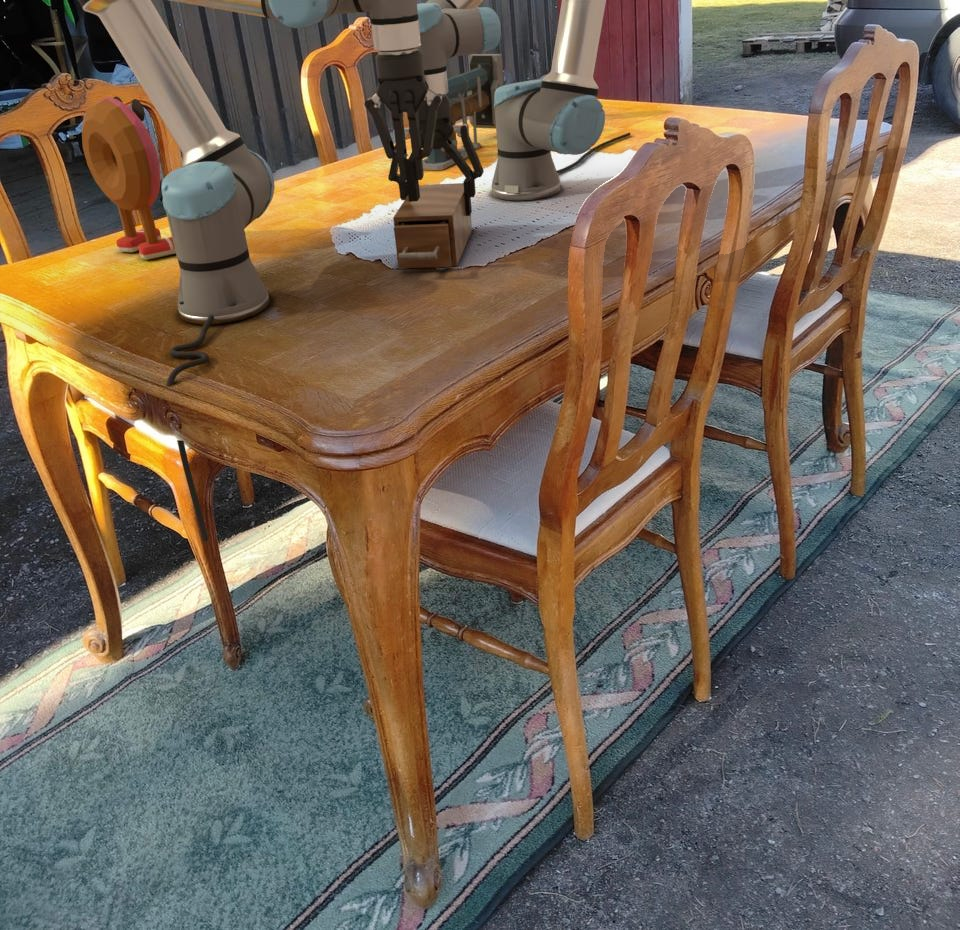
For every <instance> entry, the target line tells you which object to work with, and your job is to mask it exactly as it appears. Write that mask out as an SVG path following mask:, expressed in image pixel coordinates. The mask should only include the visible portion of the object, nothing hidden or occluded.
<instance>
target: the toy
mask: <svg viewBox="0 0 960 930" xmlns="http://www.w3.org/2000/svg"><path fill="white" fill-rule="evenodd" d="M145 115H146V113H145V109H144V106H143V104H142V102H140V100H139V99H137V98H133V99H132V101H131V107H130V106H128V105H126V104H125V103H124V102H123V101H122V99H121V98H120V97H119V96H117V95H115V96H114V97H110V96H106V97H104V98H102V99H100V100H98V101H95V103H92V104H91V105H89V106H88V107H86V110H85V113H84V116H83V119H82V124H81V141H82V142H81V143H82V150H83V153H84V157H85V161H86V165H87V167H88V169H89V172H90V174H91V176H92V178H93V179H94V182H95V183H96V184H97V186H98V187H99V188H100V190H101V191H102V192H103V194H104V195H105V196H106V197H107V198H108V199H109V200H110V201H111V202H112V203H113V204H114V205H116V206H117V210H118V213H119V217H120V221H121V225H122V230H123V233H124V236H122V237H120V238H118V239H116V243H115V244H116V247H117V250H118V252H121V253H135V252H139V256H140V257H141V259H143V260H152V259H158V258H162V257H167V256H172V255H176V251H175V247H174V243H173V239H172V236H170V237H165V238H162V234H161V231H160V229H159V228H158V227H156V224H155V219H154V215H153V211H152V208H151V207H152V205H154V203H155V202H156V200H157V198H158V195H159V193H160V190H161V189H160V188H161V166H160V165H161V164H160V160H159V156H158V152H157V149H156V146H155V143H154V141H153V138H152V136H151V133H150V132H149V130H148V128H147V127H146V125H145V124H144V121H145V119H146V117H145ZM132 211H133V212H134V211H138V214H139V219H140V222H141V226H142V228H139V229H136V225H135V220H134V215H133V212H132Z"/></svg>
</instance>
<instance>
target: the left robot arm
mask: <svg viewBox="0 0 960 930" xmlns="http://www.w3.org/2000/svg"><path fill="white" fill-rule="evenodd" d="M77 1H78V3H79V5H80V6H81V8H82V10H83V11H84V12H87V13H90V14H93V15H95V16H97V17H98V18H99V19H100V21H101V23H102V24H103V26H104V28H105V29H106V30H107V32H108V34H109V36H110V37H111V39H112V41H113V42H114V44H115V46H116V47H117V49H118V50H119V52H120V53H121V56H122V57H123V58H124V61H125V62H126V64H127V65H128V67H129V68H130V70H131V72H132V73H133V76H134V77H135V78H136V80H137V81H138V83H139V85H140V86H141V88H142V89H143V91H144V93H145V94H146V96H147V98H148V99H149V101H150V102H151V104H152V106H153V107H154V109H155V111H156V113H157V114H158V116H159V117H160V119H161V120H162V122H163V124H164V125H165V127H166V129H167V130H168V132H169V134H170V135H171V137H172V139H173V140H174V142H175V144H176V145H177V147H178V149H179V150H180V152H181V155H182V156H181V157H182V158H181V162H180V167H178V168H175V169H174V170H172V171H170V172H169V173H167V175H166V176H165V177H164V178H163V179H162V182H161V185H160V188H161V189H160V190H161V195H162V205H163V209H164V211H165V214H166V218H167V222H168V226H169V230H170V231H169V232H170V234H171V237H172V239H173V243H174V247H175V251H176V254H175V255H176V258H177V262H178V266H179V283H178V294H177V310H178V314H179V318H180V319H182V320H183V321H184V322H186V323H189V324H193V325H202V327H201V329H200V333H199V336H198V338H197V339H196V340H194V341H192V342H188V343H184V344H179V345H175V346H173V347H172V348H170V350H169V354H170V356H172V357H173V358H196V359H193V360H189V361H186V362H183V363H181V364H179V365H178V366H176V367H175V368H174V369H173V370H172V371H171V372H170V374H169V376H168V378H167V380H166V388H167V387H168V388H170V387H172V386H174V383H175V380H176V378H177V376H178V375H179V374H180V373H181V372H183V371H185V370H188V369H191V368H194V367H197V366H201V365H204V364H205V363H207V362H208V361H209V355H208V353H206V352H204V351H196V350H194V351H188V350H191V349H194V348H196V347H199V346H200V345H201V344H203V343H204V341H205V340H206V336H207V332H208V330H209V328H210V327H211V325H222V324H230V323H233V322H239V321H241V320H245V319H248V318H251V317H253V316H256V315H258V314H260V312H263V311H264V310H265V309H266V308H267V307H268V306H269V305H270V296H269V292H268V290H267V287H266V284H265V283H264V282H263V280H262V278H261V276H260V274H259V272H258V270H257V269H256V267H255V265H254V264H253V262H252V260H251V257H250V251H249V246H248V241H247V236H246V232H245V229H246V228H247V227H248V226H249V225H250V224H252V223H253V222H254V221H255V220H257V219H259V218H260V217H261V216H262V215H263V214H265V212H266V211H267V209H268V207H269V206H270V204H271V202H272V200H273V198H274V194H275V187H276V186H275V177H274V174H273V171H272V169H271V166H270V165H269V164H268V162H267V161H266V160H265V158H263V157H262V156H261V154H259V153H257V152H254V151H252V150H251V149H249V148H248V147H247V145H246V143H245V142H244V141H245V140H243V138H242V136H241V135H240V134H239V133H237V132H233V131H231V130H228V129H227V127H226V126H225V125H224V122H223V121H222V119H221V118H220V116H219V114H218V113H217V111H216V109H215V107H214V106H213V104H212V102H211V101H210V99H209V97H208V95H207V94H206V92H205V91H204V89H203V87H202V85H201V83H200V81H199V79H198V78H197V76H196V75H195V73H194V72H193V69H192V68H191V65H189V63H188V61H187V60H186V58H185V56H184V54H183V52H182V51H181V49H180V48H179V46H178V44H177V42H176V40H175V39H174V37H173V36H172V34H171V31H169V28H168V27H167V25H166V24H165V23H164V20H163V18H162V17H161V15H160V13H159V12H158V10H157V9H156V6H155V5H154V4H153V2H152V0H77ZM168 1H171V2H175V3H182V4H187V5H193V6H198V7H203V8H204V7H205V8H210V9H216V10H220V11H221V10H222V11H227V12H233V13H237V14H244V15H248V16H249V15H250V16H256V17H261V18H266V19H271V20H274V21H275V20H276V21H279V22H280V23H281V24H282V25H284V26H286V27H289V28H292V29H308V28H312V27H313V26H315V25H317V24H318V23H319V22H321V21H323V20H326V19H328V18H330V17H332V16H335V15H345V14H355V13H366V12H369V17H370V25H371V34H372V45H373V50H374V51H375V52H378V53H377V54H376V56H375V57H374V58H375V67H376V76H377V86H376V89H375V92H376V93H375V94H373V95H372V96H371V97H368V98H367V99H366V100H365V101H364V103H363V104H364V107H365V109H367V111H368V112H369V113H370V115H371V116H372V119H373V122H374V124H375V128H376V131H377V133H378V136H379V139H380V142H381V145H382V147H383V150H384V153H385V156H386V158H387V159H390V160H392V159H395V160H397V161H398V163H399V168H398V172H399V174H400V178H401V180H402V181H407V189H408V198H409V202H412V201H418V200H419V198H420V190H419V185H420V181H423V178H424V176H425V173H424V169H423V162H422V160H424V159H426V158H427V157H428V156H429V155H430V154H431V152H432V149H433V141H434V134H435V126H436V119H437V111H438V107H439V105H440V103H441V101H442V99H443V96H442V94H436V93H435V92H433V91H431V90H430V89H429V86H428V84H427V82H426V80H425V77H424V67H423V57H422V52H421V51H420V50H418V48H419V47H420V46H421V37H420V27H419V19H418V10H417V4H418V1H417V0H168ZM425 96H426V97H427V104H428V105H429V106H430V107H429V110H428V116H427V124H426V131H425V139H424V147H423V148H422V147H421V138H420V129H419V119H418V108H419V107H420V105H421V103H422V102H423V100H424V98H425ZM381 101H382V102H381ZM382 103H383V104H384V105H385V107H386V108H387V109H388V111H390V113H391V120H392V123H393V124H392V125H393V133H394V141H395V143H396V149H395V143H394V141H393V139H392V135H391V132H390V130H389V126H388V124H387V121H386V119H385V115H384V112H383V110H382ZM404 113H406V116H407V120H408V128H409V130H410V134H409V137H410V146H411V153H412V157H413V158H412V159H409V158H407V157H408V156H409V153H408V151H407V141H406V140H407V139H405V131H404V128H405V121H404ZM186 350H187V351H186ZM176 442H177V447H178V452H179V456H180V460H181V465H182V468H183V472H184V476H185V479H186V483H187V487H188V490H189V494H190V498H191V501H192V502H191V503H192V506H193V509H194V513H195V516H196V520H197V523H198V527H199V531H200V535H201V540H202V542H204V543H206V542H208V541H209V539H210V538H209V536H208V531H207V528H206V523H205V520H204V516H203V511H202V509H201V504H200V501H199V498H198V497H199V496H198V494H197V490H196V486H195V482H194V478H193V474H192V471H191V466H190V463H189V458H188V455H187V450H186V447H185V441H184V440H181V439H180V440H179V439H177V440H176Z"/></svg>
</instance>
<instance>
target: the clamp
mask: <svg viewBox="0 0 960 930" xmlns="http://www.w3.org/2000/svg"><path fill="white" fill-rule="evenodd" d="M467 59H468V71H465V72H462V73H460V74H457V75H454V76H451V77H449V78H447V81H448V93H447V94H446V96H448V98H449V100H451V99H457V100H455V101H452V102H449V104H450V116H451V121H452V123H453V125H456V123H457V122H458V121H461V120H462V125H463V124H464V123H467V124H468V119H469V124H470V125H471V126H472V128H473V129H472V131H473V141H472V144H473V146H474V148H475V150H476V149H479V148H481V147H482V144H481V143H480V142H478V131H477V129H494V130H496V122H495V109H494V95H495V91H496V89H497V88H499V87H501V86H504V85H505V84H504V71H503V69H504V68H503V67H504V66H503V54H502V53H474V54H468V55H467ZM467 117H468V119H467ZM450 140H451V141H452V142H453V144H454V146H455V148H456V149H457V150H458V152H459V153H460V154H461V156H462V157H463V159H464V160H465V159H467V158H469V157H468V155H467V152H466V150H465V148H464V145H463V144H462V145H461V148H458V140H457V133H456V132H453V133H452V135H451V137H450ZM422 162H423V170H427V171H428V170H430V171H442V170H445V169H447V168H449V167H451V166H453V165H456V164H455V162H454V161H453V160H452V158H451V157H450V155H449V154H448V153H447V152H446V151H445V150H444V148H441V149H432V152H431V154H430V155H429V156H428V157H425V158H423V159H422Z"/></svg>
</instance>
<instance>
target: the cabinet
mask: <svg viewBox="0 0 960 930" xmlns="http://www.w3.org/2000/svg"><path fill="white" fill-rule="evenodd" d="M419 190H420V198H419V200H418V201H412V202H409V198H408V196H407V197H406V199H405V200H403V202H402V203H401V205H400V206H399V208H398V209H397V211H396V212H395V214H394V216H393V219H392V220H393V228H394V227H395V226H399V225H401V223H402V222H405V221H431V220H448V222H449V233H450V243H451V261H452V265H451V267H457V266H458V265H459V262H460V260H461V257H462V256H463V252H464V250H465V247H466V245H467V243H468V241H469V238H470V237H471V234H472V232H473V225H472V222H473V221H472V214H471V215H470V216H466V207H465V195H464V184H463V182H461V183H460V182H459V183H457V182H455V183H435V184H419Z"/></svg>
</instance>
